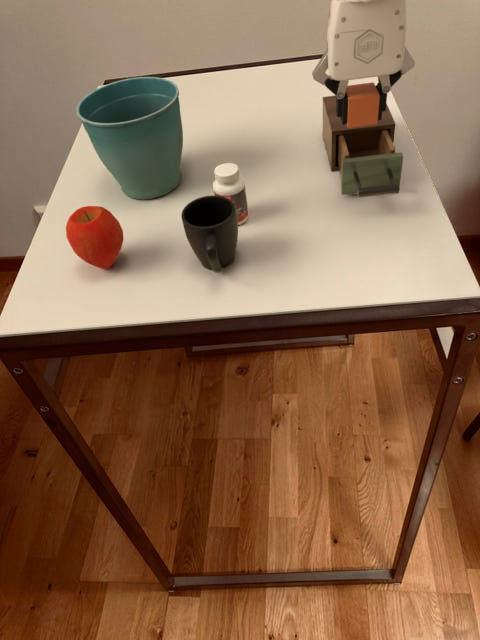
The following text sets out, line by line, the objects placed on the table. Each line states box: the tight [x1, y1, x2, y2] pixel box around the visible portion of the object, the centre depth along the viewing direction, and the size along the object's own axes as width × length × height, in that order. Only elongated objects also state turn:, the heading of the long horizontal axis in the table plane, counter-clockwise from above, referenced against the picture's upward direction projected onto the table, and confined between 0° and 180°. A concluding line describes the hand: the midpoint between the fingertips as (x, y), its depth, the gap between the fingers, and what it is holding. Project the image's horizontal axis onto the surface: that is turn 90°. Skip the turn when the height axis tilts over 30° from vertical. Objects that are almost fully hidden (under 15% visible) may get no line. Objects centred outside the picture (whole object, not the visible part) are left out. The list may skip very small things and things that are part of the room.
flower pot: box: [75, 76, 184, 200], centre depth 94 cm, size 18×18×17 cm
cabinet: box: [322, 94, 396, 172], centre depth 97 cm, size 14×11×8 cm
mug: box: [180, 194, 239, 273], centre depth 78 cm, size 8×12×10 cm
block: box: [346, 82, 380, 128], centre depth 76 cm, size 4×4×4 cm
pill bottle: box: [212, 162, 250, 226], centre depth 86 cm, size 5×5×10 cm
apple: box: [65, 205, 124, 270], centre depth 81 cm, size 9×8×11 cm
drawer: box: [336, 129, 404, 198], centre depth 88 cm, size 19×10×6 cm, turn 1°
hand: (360, 117), depth 77 cm, fingers closed on block, 4 cm apart
